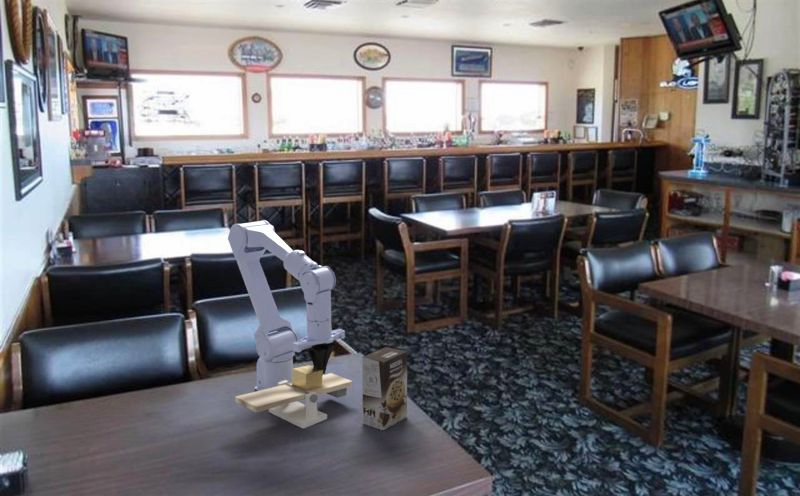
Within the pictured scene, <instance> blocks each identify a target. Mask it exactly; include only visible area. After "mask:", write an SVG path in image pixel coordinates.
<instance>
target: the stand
mask: <svg viewBox="0 0 800 496" xmlns="http://www.w3.org/2000/svg"><path fill="white" fill-rule="evenodd" d="M285 383H288V384H289V381H287V380H284V381H282V380H279V381H278V383H277V386H280V385H284V384H285ZM304 402H305V404H304V403H302V402H300V401H296V402H292V403H289V404H285V405H281V406H278V407H274V408H270V409H268V413H270V414H273V415H274V416H276V417H279V418H280V419H282V420H285V421H286V422H288V423H291V424H292V425H295V426H296V427H298V428H301V429H306V428H309V427H311V426H313V425H316V424H317V423H320V422H323V421H325V420H327V419H328V414H326V413H324V412H322V411H321V410H318V396H317V393H315V392H311V393H309V394H306V395H305V399H304Z"/></svg>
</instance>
